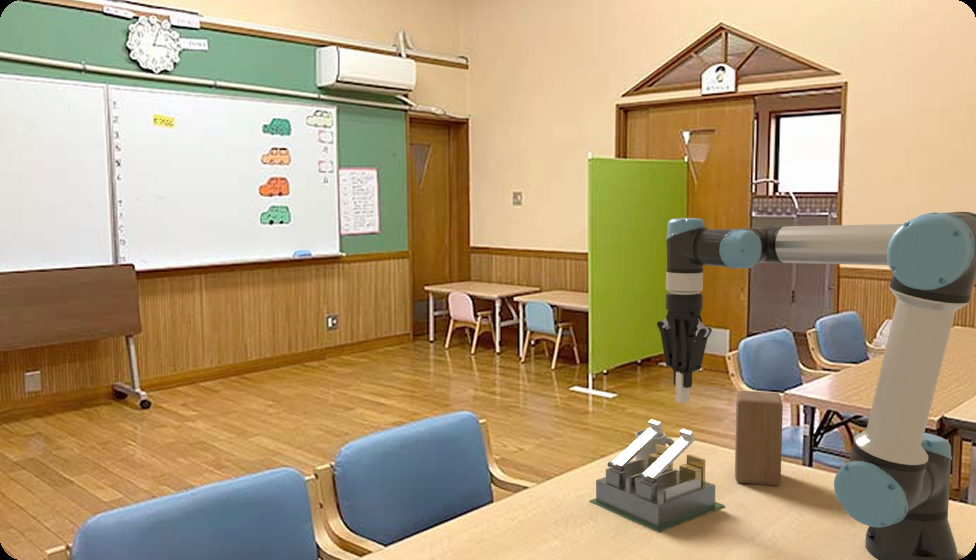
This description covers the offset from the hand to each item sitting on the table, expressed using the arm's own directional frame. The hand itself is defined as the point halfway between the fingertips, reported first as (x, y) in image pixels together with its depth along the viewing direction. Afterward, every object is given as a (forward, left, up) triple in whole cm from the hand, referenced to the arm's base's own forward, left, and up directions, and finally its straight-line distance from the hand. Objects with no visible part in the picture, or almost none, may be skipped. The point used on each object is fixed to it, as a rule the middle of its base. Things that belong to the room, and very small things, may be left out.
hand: (682, 401), depth 169 cm
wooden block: (0, -28, -24) cm, 36 cm away
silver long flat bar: (+9, +4, -12) cm, 16 cm away
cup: (+19, -14, -24) cm, 33 cm away
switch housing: (+4, +3, -23) cm, 24 cm away
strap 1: (0, +4, -12) cm, 13 cm away
